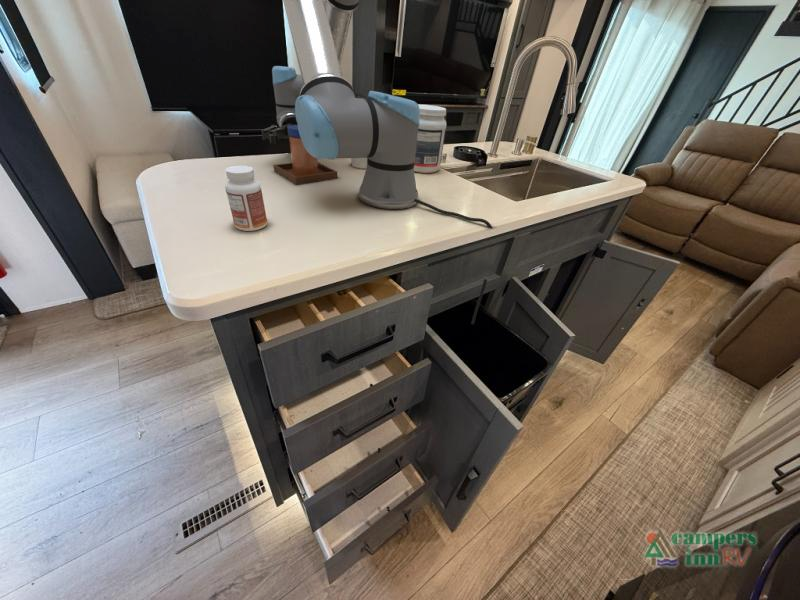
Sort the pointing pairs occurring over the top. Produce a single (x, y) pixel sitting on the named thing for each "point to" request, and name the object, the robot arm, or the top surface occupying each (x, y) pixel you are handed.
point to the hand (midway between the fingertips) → (302, 141)
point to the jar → (302, 158)
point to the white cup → (359, 162)
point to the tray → (323, 174)
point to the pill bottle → (245, 198)
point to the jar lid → (293, 131)
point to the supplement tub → (430, 138)
